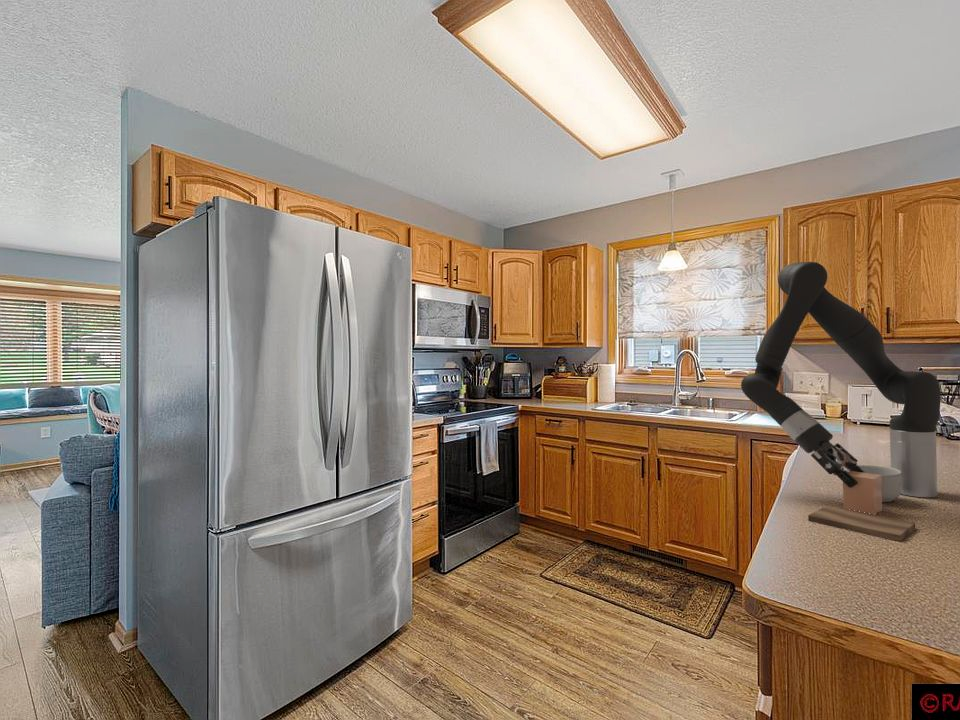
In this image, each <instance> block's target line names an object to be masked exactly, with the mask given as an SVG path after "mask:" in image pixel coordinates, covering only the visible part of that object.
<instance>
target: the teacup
mask: <svg viewBox="0 0 960 720" xmlns="http://www.w3.org/2000/svg"><path fill="white" fill-rule="evenodd" d="M857 465H858V466H859V467H860V468H861V469H862V470H863V471H864V472H865V473H870V474H877V475H881V481H882V503H888V502H892V501H894V500H895V499H898V498H899V497H900V496H901V495H902V494H901V471H899V470H897V469H894V468H891V466H890V467H889V466H884V465H877V464H876V465H875V464H857ZM846 471H847V472H849V470H848V469H846Z"/></svg>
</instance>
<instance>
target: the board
mask: <svg viewBox="0 0 960 720" xmlns="http://www.w3.org/2000/svg"><path fill="white" fill-rule="evenodd" d="M807 518H808V519H807V520H808V521H810V522H815V523H817V522H818V524H822V523H823V524H822V525H826V526H831V527H836V528H839V529H843V528H845V530H848V529H850V530H849V531H852V530H854V531H853V532H856V531H858V532H857V533H861V532H862V534H865V533H866V535H869V534H870V536H874V537H878V536H879V538H883V539H888V540H891V541H898V542H901V541H902V540H903V539H904V538H906V537H907V536H908V535H909V534H910V532H911V531H912V532H913V531H914V530H915V529H916V522H914V521H908V520H903V519H898V518H894V517H889V516H883V515H878V514H875V515H874V514H869V513H864V512H859V511H854V510H849V509H844V508H843V507H838V506H834V505H829V504H828V505H826V506H824V507H821V508H819V509H818V510H816V511H814V512H812V513H810V514H808V516H807ZM912 532H911V533H912Z"/></svg>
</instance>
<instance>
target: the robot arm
mask: <svg viewBox="0 0 960 720" xmlns="http://www.w3.org/2000/svg"><path fill="white" fill-rule="evenodd" d="M827 282H828V272H827V269H826V267H824V265H822V264H821V263H820V262H815V261H801V262H792V263H790V264H786V265H785V266H784V267H783V268H782V269H781V270H780V271H779V273H778V275H777V284H778V286H779V288H780V290H781V291H782V292H783V293H784V294H785V295H787V296H786V300H785V303H784V305H783V306H782V308H781V311H780V313H779V314H778V316H777V317H776V318H775V320H773V322H772V323H771V325H770V326H769V328H768V329H767V331H766V332H765V334H764V336H763V338H762V340H761V343H760V345H759V348H758V350H757V352H756V356H755V360H754V361H755V362H756V368H755V371H754V373H751V374H748V375H745V376H744V377H743V378H742V379H741V382H740V387H741V391H742V393H743V394H744V395H745V397H747V398H748V399H749V400H750V401H751V402H753V403H754V404H755V405H757V406H758V407H759V408H760V409H762V410H763V411H764V412H766V413H767V414H768V415H769V416H770V417H771V419H773V420H774V421H775V422H776V423H777V424H778V425H779V426H780V427H781V428H782V429H783V431H784V432H785V433H786V435H788V437H790V438H791V439H792V440H793V441H794V442H795V443H796V444H797V445H798V446H799V447H800V448H801V449H802V450H803V451H804V452H805V453H807V454H811V455H810V456H811V457H812V459H814V460H815V461H816V463H817V464H819V466H821V467H822V469H824V470H825V472H827V474H829V475H833V476H836V477H838V478H839V479H840V480H841V481H842V483H843V482H844V483H845V484H846V485H847V486H848V487H850V488H852V487H853V486H855V485H856V484H858V482H857V481H856V480H855V479H854V478H853V477H852V476H851V475H850V474H849V473H848V472H847V469H848V470H849V471H856V472H863V473H865V472H864V471H863V470H862V469H861V468H860V467H859V466H858V465H859V464H858V459H857V458H856V457H854V456H853V455H852V454H851V453H850V452H849V451H848V450H846V449H845V448H844V447H843V446H842V445H841V444H839V443H838V442H837V443H835V444H832V443H831V440H832V439H833V437H834V436H833V434H832V433H831V432H830V431H829V430H828V429H827V428H825V427H824V425H822V424H821V423H820V422H819V421H818V420H817V419H816V418H814V416H812V415H811V414H810V413H809V412H807V411H806V410H804V409H803V408H802V407H801V406H800V405H799V404H798V403H797V402H796V401H794V400H793V399H792V398H791V397H789V396H787V395H784V394H783V393H781V392H780V391H779V390H778V389H777V388H778V386H779V382H780V379H781V374H782V370H783V369H782V368H783V365H784V363H785V361H786V359H787V356H788V354H789V352H790V349H791V347H792V345H793V341H794V340H795V338H796V335H797V334H798V332H799V330H800V327H801V325H803V322H804V320H805V319H806V317H807V315H808V314H809V315H810V316H811V317H812V318H813V319H814V320H815V322H816V323H817V325H818V326H819V327H820V328H822V330H823V331H825V333H827V334H828V336H829V337H830V338H831V340H832V341H834V342H835V343H836V345H837V346H838V347H840V348H841V350H843V351H844V352H845V354H847V355H848V356H849V357H850V358H851V359H852V361H854V363H856V365H858V367H859V368H861V371H863V372H864V374H866V375H867V377H868V378H869V379H870V380H871V381H872V383H873V385H874V386H875V387H876V389H878V391H879V393H881V395H882V396H883V397H885V398H886V400H888V401H890V402H892V403H894V404H898V405H903V412H902V413H901V414H900V415H898V416H895V417H891V418H890V419H889V444H890V445H889V449H890V450H889V451H890V452H889V453H890V456H889V457H890V468H894V469H897V470H899V471H901V494H900V495H903V496H909V497H910V496H911V497H915V498H916V497H918V498H937V497H938V462H937V461H938V459H937V458H938V456H937V425H938V423H939V422H940V421H939V420H940V417H941V400H942V399H941V396H942V394H941V385H940V382H939V380H938V378H937V377H936V376H935V375H934V374H932V373H931V372H927V371H912V370H911V371H906V370H905V371H904V370H902V369H900V367H898V366H897V365H896V364H895V363H894V362H893V361H892V360H891V359H890V358H889V357H888V356H887V354H886V351H885V346H884V345H885V344H884V340H883V339H884V338H883V336H882V334H881V332H880V330H879V329H878V328H877V327H876V326H875V325H874V324H873V323H872V322H871V321H870V320H869V319H868V318H867V317H866V316H864V314H863V313H861V312H860V311H859V310H858V309H855V308H854V307H852V306H851V305H849V304H847V303H846V302H844V301H842V300H840V299H839V298H838V297H836V296H835V295H834V294H832V293H831V292H830V291H829V290H828V289H827V288H826V287H825V286H826V284H827Z"/></svg>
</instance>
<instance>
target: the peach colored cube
mask: <svg viewBox="0 0 960 720" xmlns="http://www.w3.org/2000/svg"><path fill="white" fill-rule="evenodd" d="M848 473H849V474H850V475H851V476H852V477H853V478H854V479H855V480H856V481H857V482H858V484H856V485H855V486H853V487H852V488H850V487H848V486H847V485H846V484H845V483H844V482H843V481H842V501H843V503H842V504H843V505H842V508H844V509H850V510H855V511H860V512H865V513H870V514H875V515H877V514H878V513H880V512H881V511H883V502H882V481H881V475H877V474H870V473H863V472H856V471H849V472H848ZM880 510H881V511H880ZM879 511H880V512H879ZM877 512H878V513H877ZM876 513H877V514H876Z"/></svg>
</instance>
